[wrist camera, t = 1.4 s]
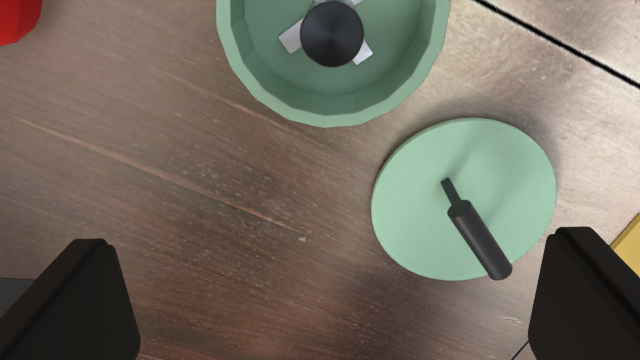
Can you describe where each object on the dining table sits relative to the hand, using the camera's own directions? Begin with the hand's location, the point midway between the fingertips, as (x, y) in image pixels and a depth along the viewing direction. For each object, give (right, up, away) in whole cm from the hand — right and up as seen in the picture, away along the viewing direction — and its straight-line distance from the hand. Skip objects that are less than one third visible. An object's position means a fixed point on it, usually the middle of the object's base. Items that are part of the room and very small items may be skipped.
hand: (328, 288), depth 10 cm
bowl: (+1, +13, +19) cm, 23 cm away
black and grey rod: (+1, +13, +19) cm, 23 cm away
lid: (+10, +1, +24) cm, 27 cm away
